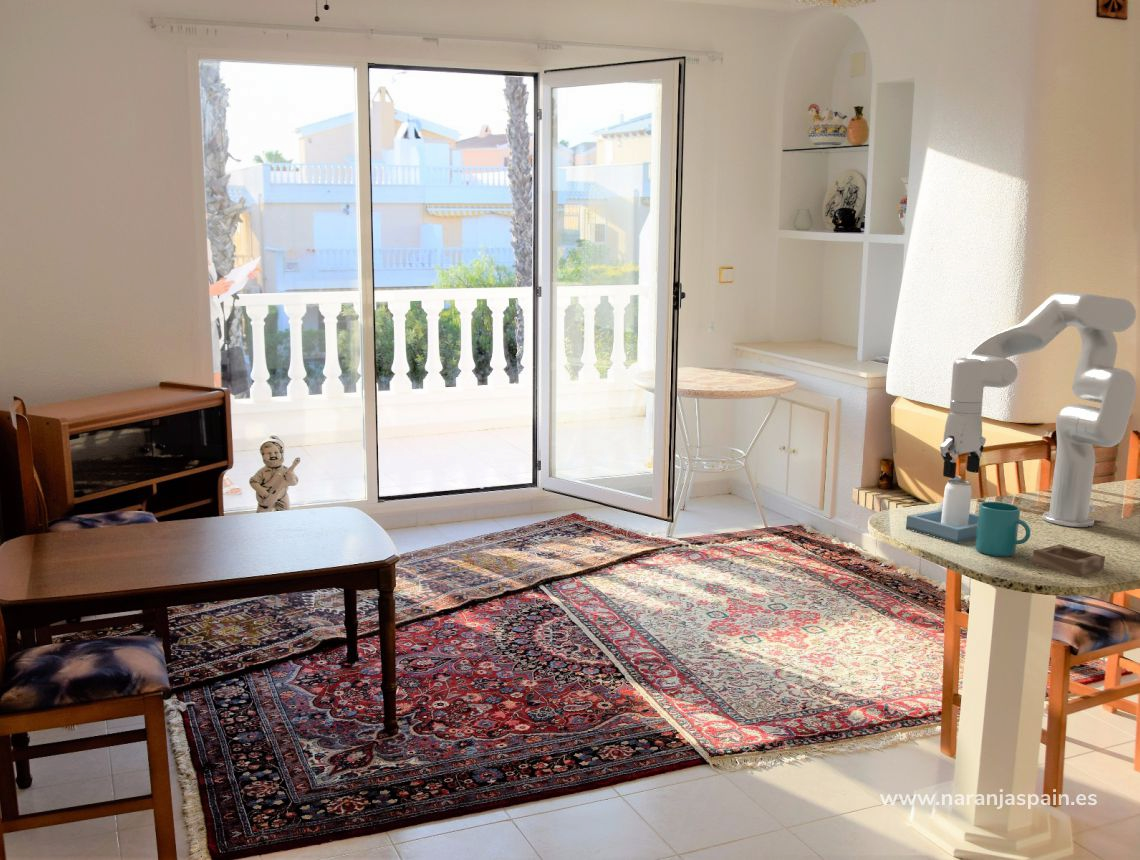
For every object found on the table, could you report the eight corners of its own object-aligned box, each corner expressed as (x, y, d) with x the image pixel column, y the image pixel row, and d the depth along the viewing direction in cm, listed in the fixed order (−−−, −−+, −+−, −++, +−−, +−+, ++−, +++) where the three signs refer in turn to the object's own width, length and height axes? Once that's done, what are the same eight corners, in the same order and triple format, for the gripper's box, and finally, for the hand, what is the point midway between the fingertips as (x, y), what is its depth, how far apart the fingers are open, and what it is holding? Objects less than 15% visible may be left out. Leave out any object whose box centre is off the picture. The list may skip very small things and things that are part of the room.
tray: (948, 520, 285) (950, 507, 284) (999, 534, 273) (1001, 520, 272) (905, 528, 274) (907, 515, 274) (956, 543, 262) (958, 529, 262)
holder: (1058, 556, 254) (1059, 544, 254) (1103, 569, 246) (1105, 556, 245) (1032, 563, 248) (1033, 550, 248) (1077, 576, 239) (1079, 563, 239)
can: (962, 533, 269) (968, 486, 267) (936, 527, 273) (942, 481, 271) (970, 528, 274) (975, 482, 272) (944, 523, 278) (950, 478, 276)
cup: (1021, 562, 248) (1026, 515, 246) (969, 551, 256) (974, 505, 254) (1033, 554, 255) (1038, 508, 253) (982, 544, 263) (986, 499, 261)
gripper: (973, 402, 276) (968, 467, 279) (931, 409, 266) (927, 476, 269) (999, 406, 270) (994, 472, 273) (957, 413, 260) (952, 482, 263)
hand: (961, 474), depth 271 cm, fingers open, 9 cm apart
